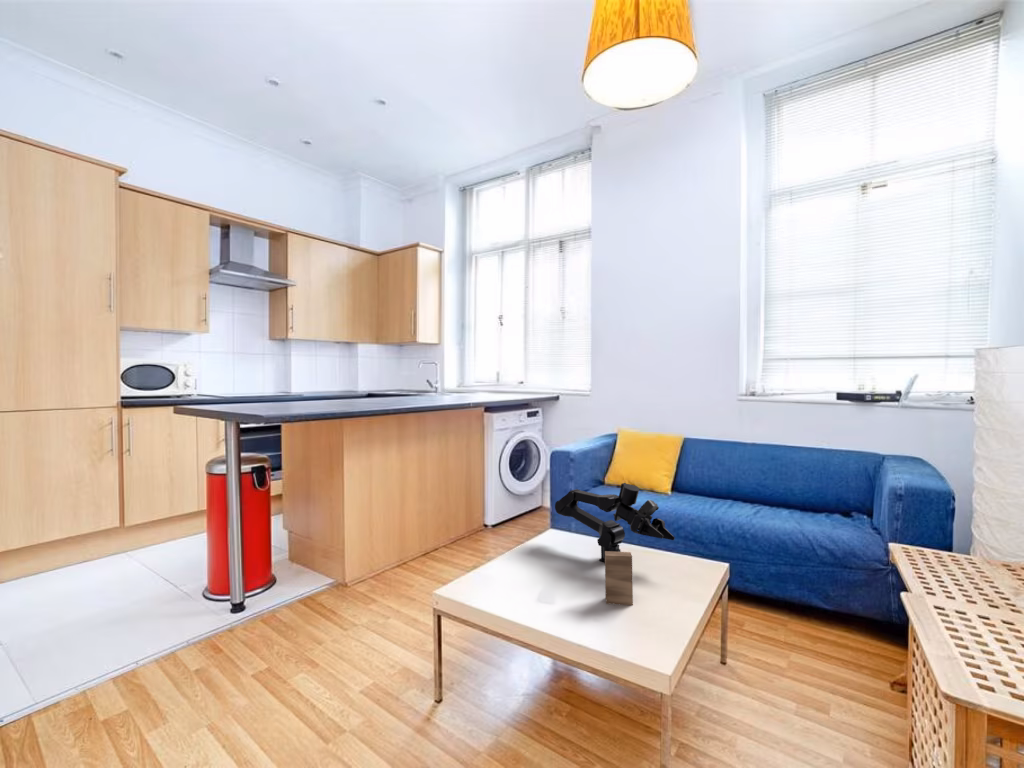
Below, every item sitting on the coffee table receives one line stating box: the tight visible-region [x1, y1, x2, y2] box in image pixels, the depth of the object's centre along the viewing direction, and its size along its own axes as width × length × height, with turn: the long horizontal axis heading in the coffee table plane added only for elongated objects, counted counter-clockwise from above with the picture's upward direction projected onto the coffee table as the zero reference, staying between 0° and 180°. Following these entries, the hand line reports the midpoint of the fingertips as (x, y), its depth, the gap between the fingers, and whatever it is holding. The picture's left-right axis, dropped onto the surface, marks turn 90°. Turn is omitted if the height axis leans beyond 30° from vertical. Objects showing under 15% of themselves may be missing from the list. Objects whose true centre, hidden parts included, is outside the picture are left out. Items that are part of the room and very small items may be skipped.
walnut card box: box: [604, 551, 634, 606], centre depth 138 cm, size 4×8×15 cm, turn 82°
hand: (668, 538), depth 152 cm, fingers open, 9 cm apart
